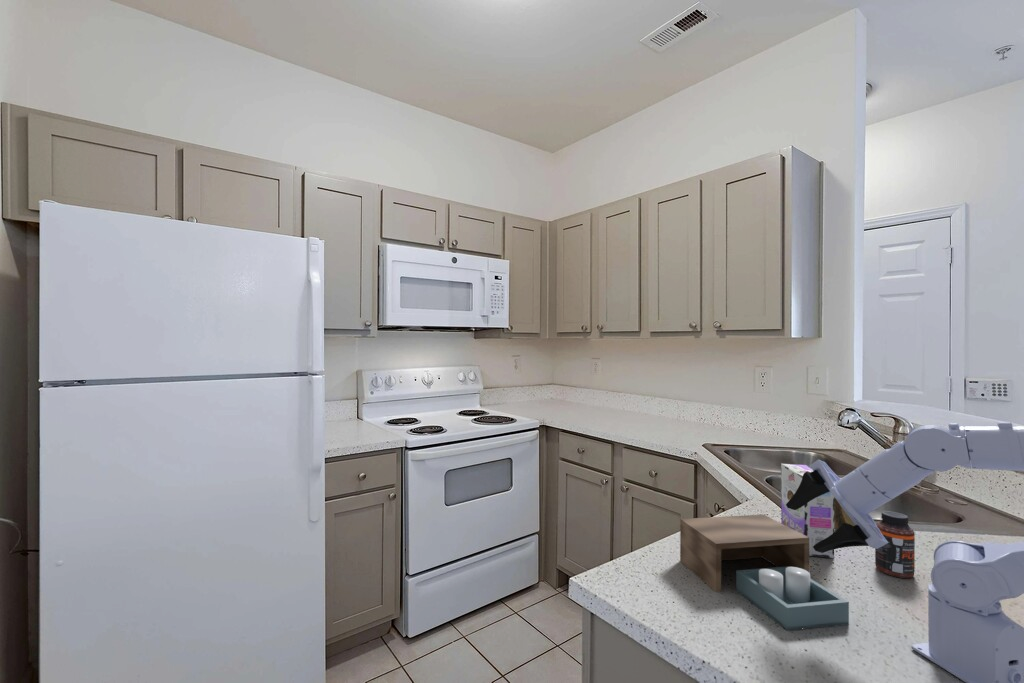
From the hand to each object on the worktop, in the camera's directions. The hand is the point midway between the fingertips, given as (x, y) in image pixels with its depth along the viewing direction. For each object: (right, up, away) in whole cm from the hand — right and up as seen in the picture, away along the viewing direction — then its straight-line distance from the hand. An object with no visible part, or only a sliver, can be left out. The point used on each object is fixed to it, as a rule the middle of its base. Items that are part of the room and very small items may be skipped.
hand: (803, 527), depth 76 cm
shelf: (-4, -14, +12) cm, 19 cm away
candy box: (+17, -14, +25) cm, 34 cm away
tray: (-2, -13, 0) cm, 14 cm away
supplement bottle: (+26, -14, +13) cm, 32 cm away
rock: (+34, -15, +34) cm, 50 cm away
